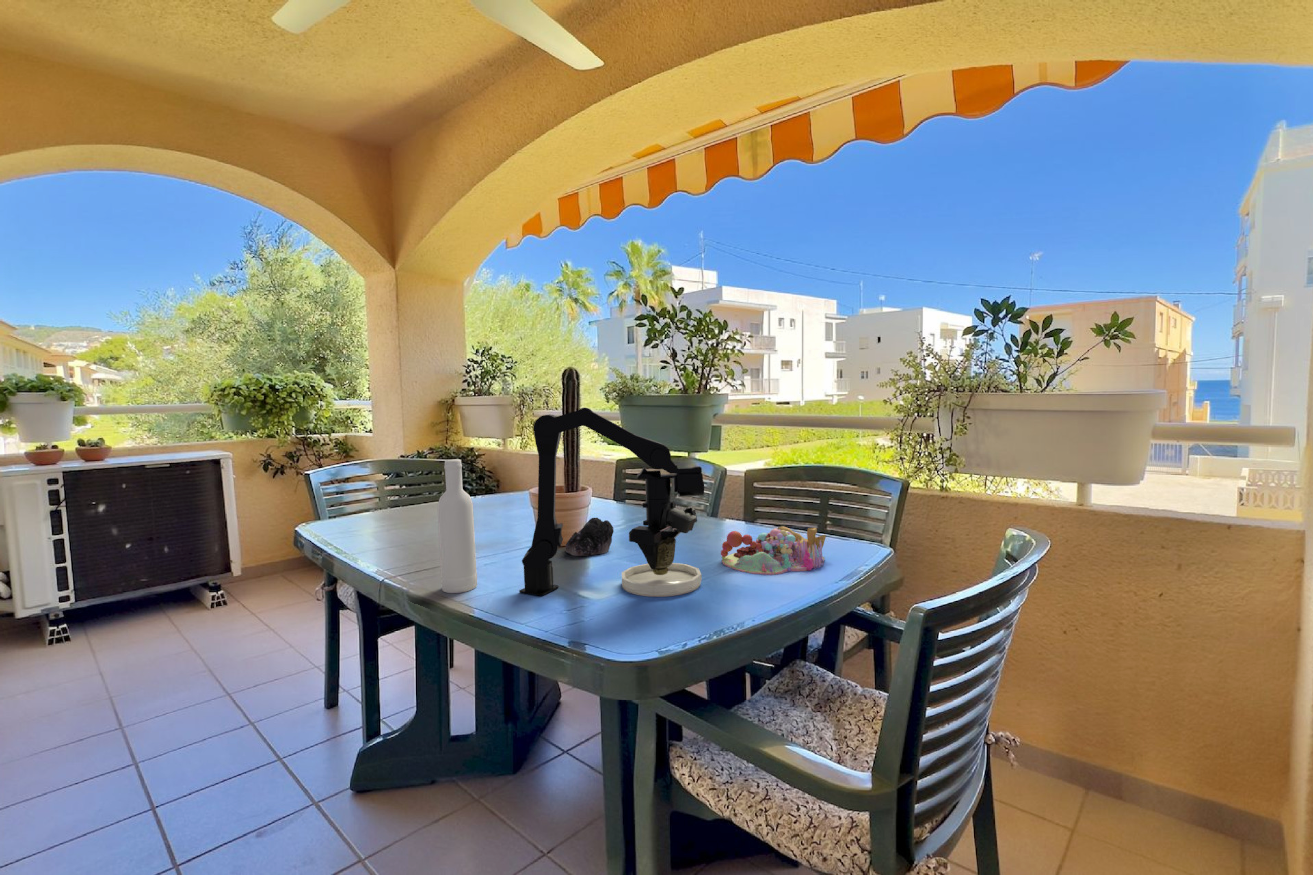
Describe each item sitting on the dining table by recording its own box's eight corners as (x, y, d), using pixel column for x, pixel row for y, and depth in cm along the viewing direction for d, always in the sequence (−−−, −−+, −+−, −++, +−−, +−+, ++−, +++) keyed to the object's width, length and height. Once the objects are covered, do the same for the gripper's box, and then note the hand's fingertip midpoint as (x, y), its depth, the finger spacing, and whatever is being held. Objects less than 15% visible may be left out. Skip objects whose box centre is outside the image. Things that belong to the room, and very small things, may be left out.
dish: (681, 600, 126) (681, 589, 126) (607, 591, 134) (607, 580, 134) (712, 577, 143) (711, 566, 142) (644, 569, 150) (644, 559, 150)
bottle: (435, 589, 140) (428, 460, 138) (466, 580, 146) (459, 457, 144) (452, 595, 135) (445, 462, 133) (484, 587, 141) (477, 459, 139)
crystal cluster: (555, 557, 168) (554, 522, 167) (580, 542, 181) (579, 509, 179) (597, 564, 163) (597, 529, 162) (620, 548, 176) (620, 515, 174)
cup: (681, 570, 140) (680, 536, 140) (669, 579, 133) (667, 544, 133) (652, 567, 143) (651, 534, 143) (638, 576, 137) (637, 541, 136)
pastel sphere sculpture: (764, 546, 171) (763, 514, 171) (841, 560, 155) (840, 524, 154) (708, 565, 154) (707, 529, 153) (788, 583, 137) (787, 543, 137)
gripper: (673, 506, 125) (675, 580, 126) (706, 493, 142) (707, 558, 143) (626, 503, 130) (628, 574, 131) (663, 491, 147) (665, 554, 148)
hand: (660, 565), depth 138 cm, fingers closed on cup, 6 cm apart
